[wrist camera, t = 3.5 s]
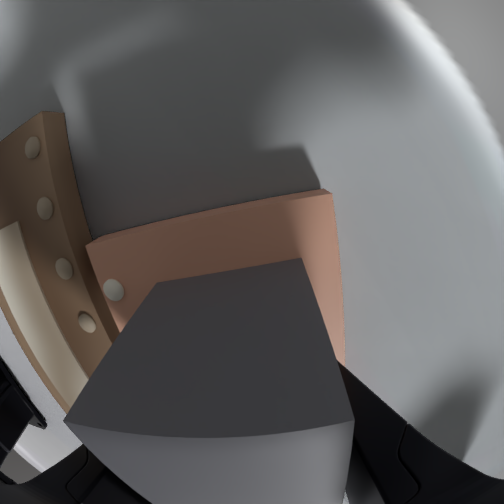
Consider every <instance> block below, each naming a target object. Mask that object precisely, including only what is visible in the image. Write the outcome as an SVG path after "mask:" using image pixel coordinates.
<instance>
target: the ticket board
mask: <svg viewBox="0 0 504 504" xmlns="http://www.w3.org/2000/svg"><path fill="white" fill-rule="evenodd" d="M91 242H92V238H91V235H90V231H89V228H88V225H87V221H86V218H85V214H84V211H83V207H82V203H81V199H80V195H79V191H78V187H77V183H76V179H75V174H74V169H73V165H72V160H71V154H70V149H69V143H68V137H67V131H66V124H65V116H64V113H58V112H48V111H41V112H40V113H38V114H37V115H35V116H34V117H32V118H31V119H30V120H28V121H27V122H25V123H24V124H23V125H21V126H20V127H19V128H17V129H16V130H15V131H13V132H12V133H11V134H9V135H8V136H7V137H6V138H4V139H3V140H2V141H1V142H0V307H1V309H2V311H3V313H4V315H5V317H6V320H7V322H8V324H9V326H10V328H11V329H12V331H13V333H14V335H15V337H16V339H17V341H18V343H19V344H20V346H21V348H22V350H23V351H24V353H25V355H26V356H27V358H28V360H29V361H30V363H31V365H32V366H33V368H34V369H35V371H36V372H37V374H38V375H39V377H40V378H41V380H42V381H43V383H44V384H45V386H46V387H47V389H48V390H49V391H50V393H51V394H52V396H53V397H54V398H55V400H56V401H57V402H58V404H59V405H60V406H61V408H62V409H63V410H64V411H65V413H66V414H67V413H68V412H69V410H70V408H71V407H72V405H73V404H74V402H75V400H76V399H77V397H78V396H79V394H80V392H81V391H82V389H83V388H84V386H85V385H86V383H87V381H88V380H89V378H90V377H91V375H92V374H93V372H94V371H95V369H96V368H97V366H98V365H99V363H100V362H101V360H102V359H103V357H104V356H105V354H106V353H107V351H108V350H109V348H110V347H111V345H112V344H113V342H114V341H115V340H116V338H117V337H118V335H119V334H120V331H119V329H118V327H117V325H116V323H115V321H114V318H113V316H112V314H111V312H110V309H109V307H108V305H107V302H106V300H105V298H104V295H103V293H102V290H101V288H100V285H99V283H98V280H97V277H96V275H95V272H94V269H93V267H92V264H91V261H90V258H89V255H88V253H87V250H86V247H85V246H86V245H87V244H89V243H91Z"/></svg>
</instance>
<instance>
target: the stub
mask: <svg viewBox="0 0 504 504" xmlns="http://www.w3.org/2000/svg"><path fill="white" fill-rule="evenodd" d="M85 247H86V250H87V253H88V255H89V258H90V261H91V264H92V267H93V269H94V272H95V275H96V277H97V280H98V283H99V285H100V288H101V290H102V293H103V295H104V298H105V300H106V302H107V305H108V307H109V309H110V312H111V314H112V316H113V318H114V321H115V323H116V325H117V327H118V329H119V331H120V334H119V335H118V337H117V338H116V340H115V341H114V342H113V344H112V345H111V347H110V348H109V350H108V351H107V353H106V354H105V356H104V357H103V359H102V360H101V362H100V363H99V365H98V366H97V368H96V369H95V371H94V372H93V374H92V375H91V377H90V378H89V380H88V381H87V383H86V385H85V386H84V388H83V389H82V391H81V392H80V394H79V396H78V397H77V399H76V400H75V402H74V404H73V405H72V407H71V408H70V410H69V412H68V413H67V415H66V417H65V418H64V420H63V422H64V423H65V424H66V425H67V426H68V427H69V429H70V430H71V431H72V432H73V433H74V434H75V435H76V436H77V437H78V439H79V440H80V441H81V442H82V443H83V444H84V445H85V446H86V447H87V448H88V449H89V450H90V451H91V452H92V453H93V454H94V455H95V456H96V457H97V458H98V459H99V460H100V461H101V462H102V463H103V464H104V465H106V466H107V467H108V468H109V469H110V470H111V471H112V472H113V473H114V474H116V475H117V476H118V477H119V478H120V479H121V480H123V481H124V482H125V483H126V484H127V485H129V486H130V487H131V488H132V489H134V490H135V491H136V492H137V493H139V494H140V495H141V496H143V497H144V498H145V499H147V500H148V501H149V502H151V503H152V504H342V503H343V498H344V493H345V488H346V482H347V476H348V470H349V463H350V456H351V449H352V441H353V432H354V422H355V419H354V416H353V412H352V409H351V405H350V402H349V398H348V395H347V392H346V388H345V385H344V382H343V379H342V375H341V372H340V369H339V366H338V363H337V360H338V361H339V362H340V363H341V364H342V365H343V366H344V367H345V335H344V311H343V294H342V279H341V267H340V256H339V246H338V237H337V228H336V220H335V212H334V204H333V197H332V193H330V192H329V191H327V190H325V189H318V190H311V191H305V192H300V193H294V194H288V195H282V196H277V197H271V198H266V199H261V200H256V201H250V202H245V203H240V204H235V205H230V206H225V207H221V208H216V209H211V210H207V211H202V212H197V213H193V214H188V215H184V216H180V217H175V218H171V219H167V220H162V221H158V222H154V223H150V224H146V225H142V226H138V227H134V228H130V229H126V230H122V231H118V232H115V233H111V234H107V235H103V236H101V237H99V238H97V239H96V240H94V241H92V242H91V243H89V244H87V245H86V246H85Z"/></svg>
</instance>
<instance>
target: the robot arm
mask: <svg viewBox="0 0 504 504" xmlns="http://www.w3.org/2000/svg"><path fill="white" fill-rule="evenodd" d="M337 363H338V366H339V369H340V372H341V375H342V379H343V382H344V385H345V388H346V392H347V395H348V398H349V402H350V405H351V409H352V412H353V416H354V419H355V422H354V432H353V441H352V449H351V456H350V463H349V470H348V476H347V482H346V488H345V490H346V494H347V497H348V500H349V504H504V479H498V478H494V477H491V476H488V475H486V474H484V473H482V472H480V471H478V470H476V469H475V468H473V467H471V466H469V465H468V464H466V463H464V462H462V461H461V460H459V459H457V458H456V457H454V456H452V455H451V454H449V453H447V452H446V451H444V450H443V449H441V448H440V447H438V446H437V445H435V444H434V443H432V442H431V441H430V440H428V439H427V438H426V437H425V436H423V435H422V434H421V433H420V432H418V431H417V430H416V429H415V428H414V427H413V426H411V425H410V424H407V421H405V420H404V419H403V418H402V417H401V416H400V415H399V414H397V413H396V412H395V411H394V410H393V409H392V408H391V407H389V406H388V405H387V404H386V403H385V402H384V401H383V400H381V399H380V398H379V397H378V396H377V395H376V394H375V393H373V392H372V391H371V390H370V389H369V388H368V387H367V386H366V385H364V384H363V383H362V382H361V381H360V380H359V379H358V378H357V377H356V376H354V375H353V374H352V373H351V372H350V371H349V370H348V369H347V368H346V367H344V366H343V365H342V364H341V363H340V362H339V361H338V360H337ZM28 424H31V425H33V426H36V427H39V428H42V429H45V428H46V427H47V423H46V422H45V421H44V420H43V418H42V417H41V416H40V415H39V414H38V412H37V411H36V410H35V409H34V407H33V406H32V405H31V403H30V402H29V401H28V400H27V398H26V397H25V396H24V394H23V393H22V391H21V390H20V389H19V387H18V386H17V384H16V383H15V381H14V380H13V379H12V377H11V376H10V374H9V372H8V371H7V369H6V368H5V366H4V365H3V363H2V362H1V360H0V467H1V465H2V464H3V462H4V460H5V459H6V457H7V455H8V453H10V452H11V451H12V449H13V448H14V446H15V444H16V443H17V441H18V439H19V438H20V436H21V435H22V433H23V432H24V430H25V428H26V427H27V425H28ZM0 504H152V503H151V502H149V501H148V500H147V499H145V498H144V497H143V496H141V495H140V494H139V493H137V492H136V491H135V490H134V489H132V488H131V487H130V486H129V485H127V484H126V483H125V482H124V481H123V480H121V479H120V478H119V477H118V476H117V475H116V474H114V473H113V472H112V471H111V470H110V469H109V468H108V467H107V466H106V465H104V464H103V463H102V462H101V461H100V460H99V459H98V458H97V457H96V456H95V455H94V454H93V453H92V452H91V451H90V450H89V449H88V448H87V447H86V446H85V445H84V444H82V445H81V446H80V447H79V448H77V449H76V450H75V451H73V452H72V453H71V454H70V455H68V456H67V457H65V458H64V459H63V460H61V461H60V462H58V463H57V464H55V465H54V466H52V467H51V468H49V469H47V470H46V471H44V472H43V473H41V474H39V475H38V476H36V477H35V478H33V479H31V480H29V481H27V482H25V483H22V484H17V483H16V482H15V481H13V480H12V479H10V478H8V477H7V476H6V475H4V474H3V473H2V472H1V471H0Z"/></svg>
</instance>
